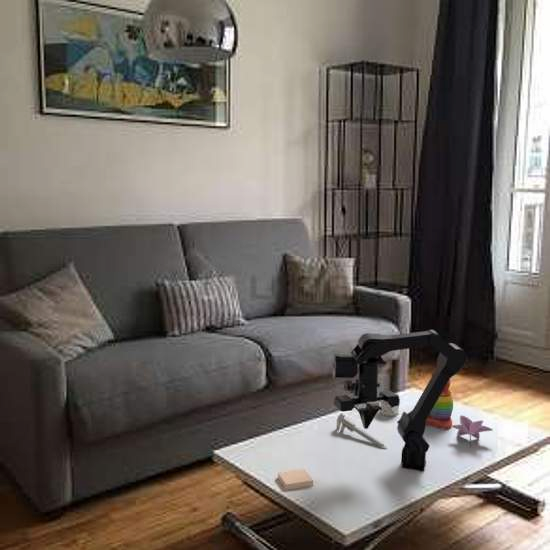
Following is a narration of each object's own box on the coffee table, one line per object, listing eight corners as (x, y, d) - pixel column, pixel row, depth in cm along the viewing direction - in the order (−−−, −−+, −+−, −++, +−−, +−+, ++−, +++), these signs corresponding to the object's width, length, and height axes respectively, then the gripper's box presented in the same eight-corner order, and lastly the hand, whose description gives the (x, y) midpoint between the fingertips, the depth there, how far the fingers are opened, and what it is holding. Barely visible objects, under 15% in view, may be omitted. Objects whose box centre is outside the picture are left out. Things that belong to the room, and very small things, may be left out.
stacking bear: (417, 423, 220) (420, 374, 217) (428, 414, 228) (431, 366, 225) (447, 430, 214) (451, 380, 211) (457, 421, 222) (461, 372, 219)
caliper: (336, 429, 214) (336, 412, 212) (338, 429, 214) (338, 411, 213) (385, 450, 199) (385, 431, 198) (387, 449, 200) (387, 430, 199)
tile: (304, 468, 182) (278, 472, 179) (313, 480, 175) (286, 484, 173) (304, 475, 182) (277, 479, 180) (313, 486, 176) (286, 491, 173)
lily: (496, 449, 203) (494, 419, 206) (481, 446, 194) (479, 414, 198) (461, 449, 210) (460, 420, 213) (445, 446, 202) (444, 416, 205)
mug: (394, 417, 224) (395, 400, 223) (377, 413, 227) (377, 396, 226) (404, 408, 232) (405, 391, 231) (387, 405, 236) (388, 388, 235)
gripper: (384, 366, 193) (381, 414, 196) (327, 371, 187) (326, 420, 190) (401, 378, 182) (399, 429, 185) (342, 384, 177) (340, 436, 180)
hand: (365, 428), depth 185 cm, fingers closed
